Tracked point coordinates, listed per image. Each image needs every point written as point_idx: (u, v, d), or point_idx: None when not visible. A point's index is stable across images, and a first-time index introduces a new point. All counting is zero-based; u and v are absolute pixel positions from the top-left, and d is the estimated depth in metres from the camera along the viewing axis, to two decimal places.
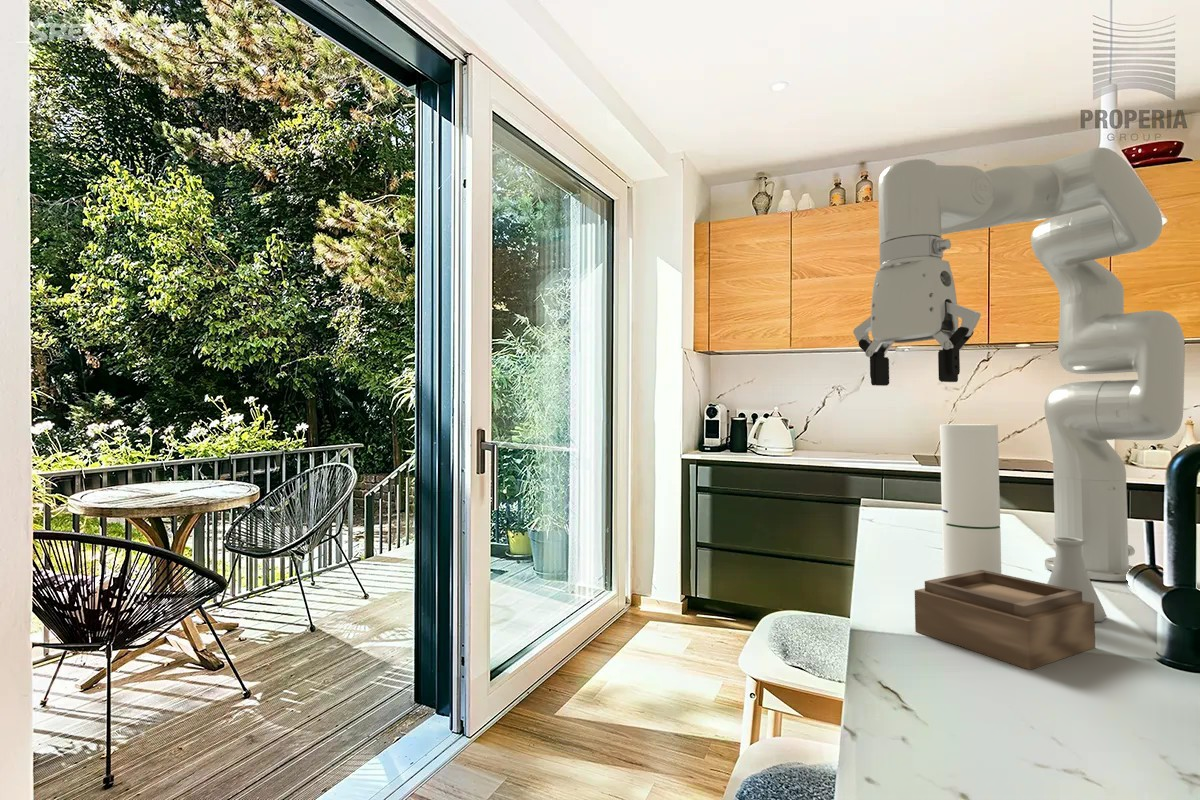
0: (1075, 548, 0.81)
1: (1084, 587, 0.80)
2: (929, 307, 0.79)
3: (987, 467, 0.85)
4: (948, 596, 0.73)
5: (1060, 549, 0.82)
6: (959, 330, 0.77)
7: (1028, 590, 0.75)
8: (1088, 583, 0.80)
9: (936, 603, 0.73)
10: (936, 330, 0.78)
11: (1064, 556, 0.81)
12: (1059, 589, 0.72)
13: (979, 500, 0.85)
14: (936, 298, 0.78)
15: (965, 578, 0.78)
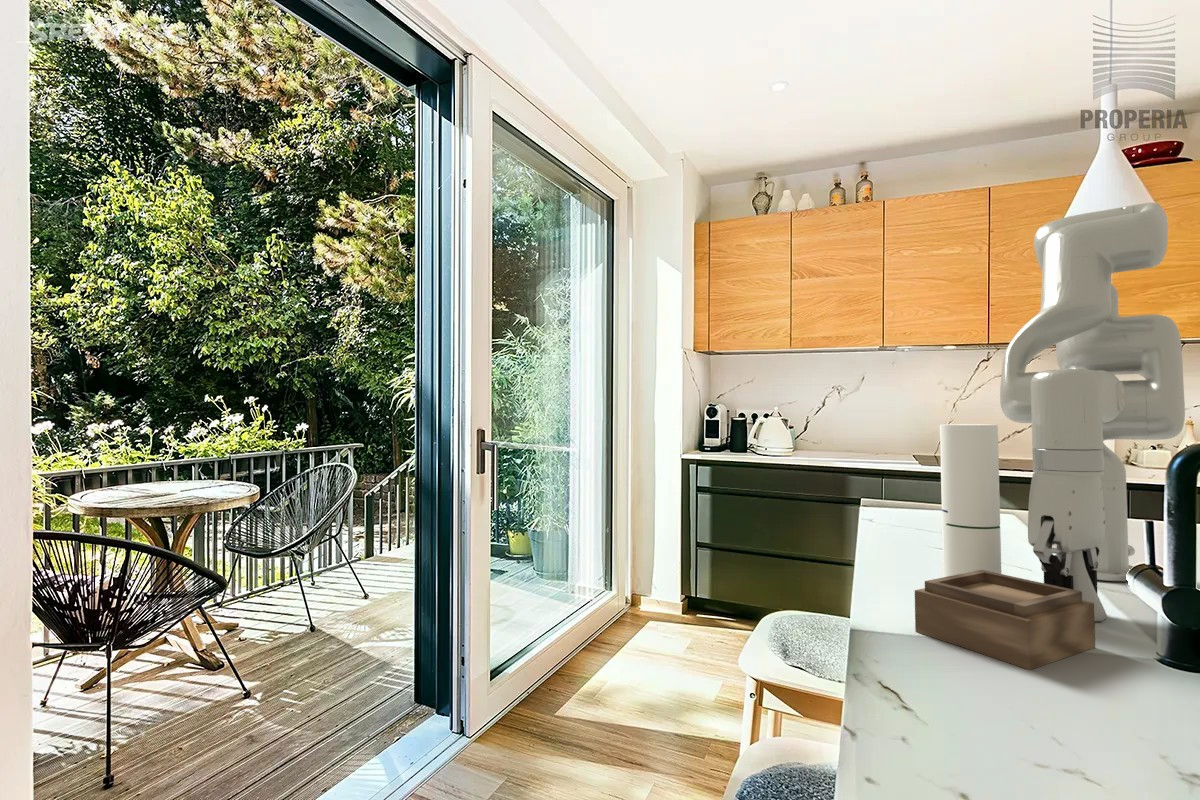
0: None
1: (1085, 586, 0.80)
2: (1103, 520, 0.82)
3: (987, 467, 0.85)
4: (948, 596, 0.73)
5: None
6: (1097, 550, 0.83)
7: (1028, 590, 0.75)
8: (1088, 583, 0.80)
9: (936, 603, 0.73)
10: None
11: None
12: (1059, 589, 0.72)
13: (979, 500, 0.85)
14: None
15: (965, 578, 0.78)
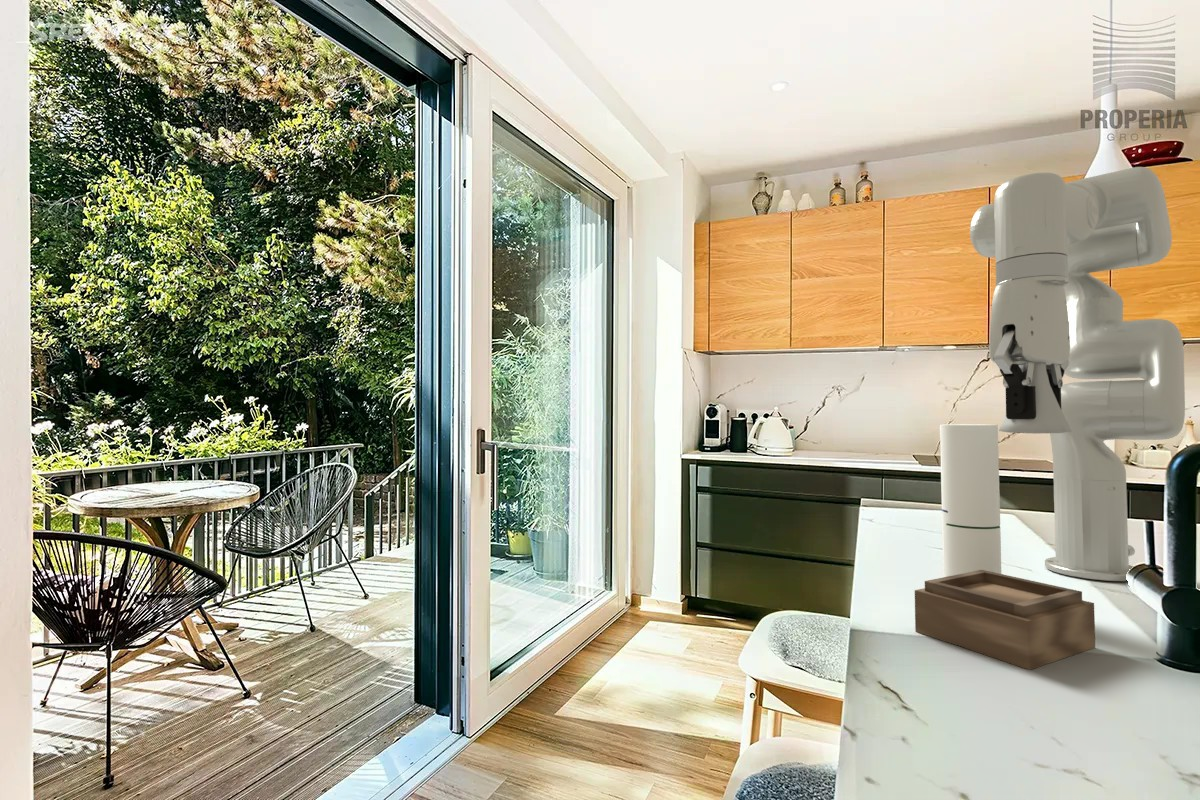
0: None
1: (1048, 399, 0.76)
2: (1067, 335, 0.78)
3: (987, 467, 0.85)
4: (948, 596, 0.73)
5: None
6: (1062, 370, 0.79)
7: (1028, 590, 0.75)
8: (1052, 396, 0.76)
9: (936, 603, 0.73)
10: (1066, 359, 0.79)
11: None
12: (1059, 589, 0.72)
13: (979, 500, 0.85)
14: None
15: (965, 578, 0.78)
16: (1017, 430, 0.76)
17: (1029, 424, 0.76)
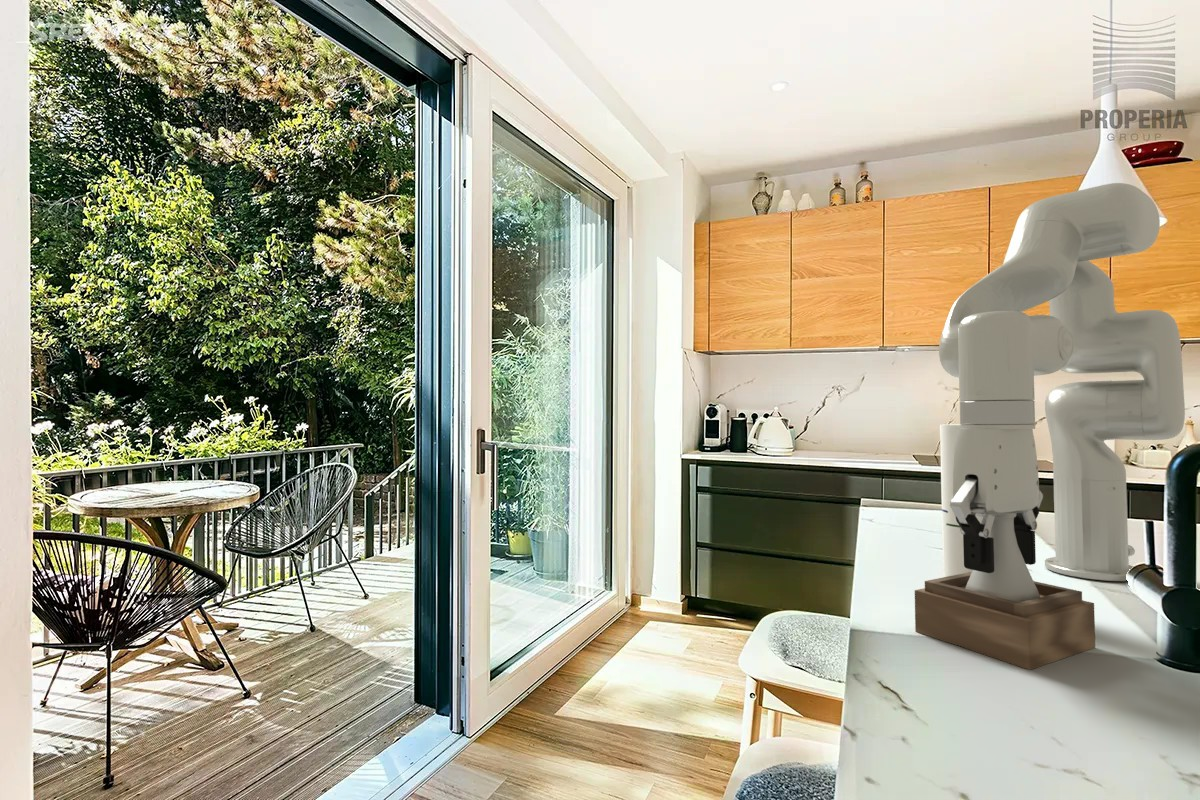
0: (1005, 521, 0.72)
1: (1015, 564, 0.71)
2: (1036, 480, 0.73)
3: None
4: (948, 596, 0.73)
5: None
6: (1036, 510, 0.75)
7: None
8: (1019, 560, 0.72)
9: (936, 603, 0.73)
10: None
11: (994, 530, 0.73)
12: (1059, 589, 0.72)
13: None
14: None
15: (965, 578, 0.78)
16: None
17: (995, 591, 0.71)
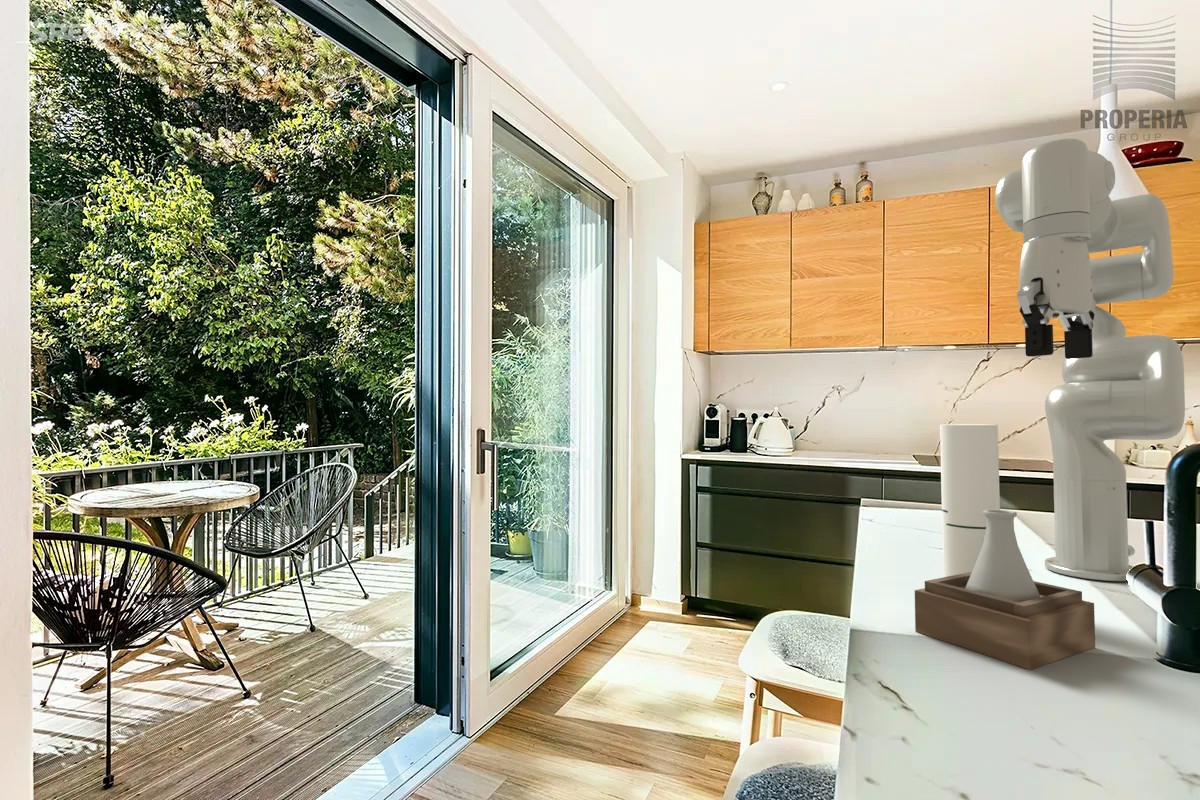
0: (1005, 521, 0.72)
1: (1015, 564, 0.71)
2: (1090, 288, 0.86)
3: (987, 467, 0.85)
4: (948, 596, 0.73)
5: (989, 522, 0.73)
6: (1092, 314, 0.88)
7: None
8: (1019, 560, 0.72)
9: (936, 603, 0.73)
10: (1089, 310, 0.86)
11: (994, 530, 0.73)
12: (1059, 589, 0.72)
13: (979, 500, 0.85)
14: None
15: (965, 578, 0.78)
16: None
17: (995, 591, 0.71)
